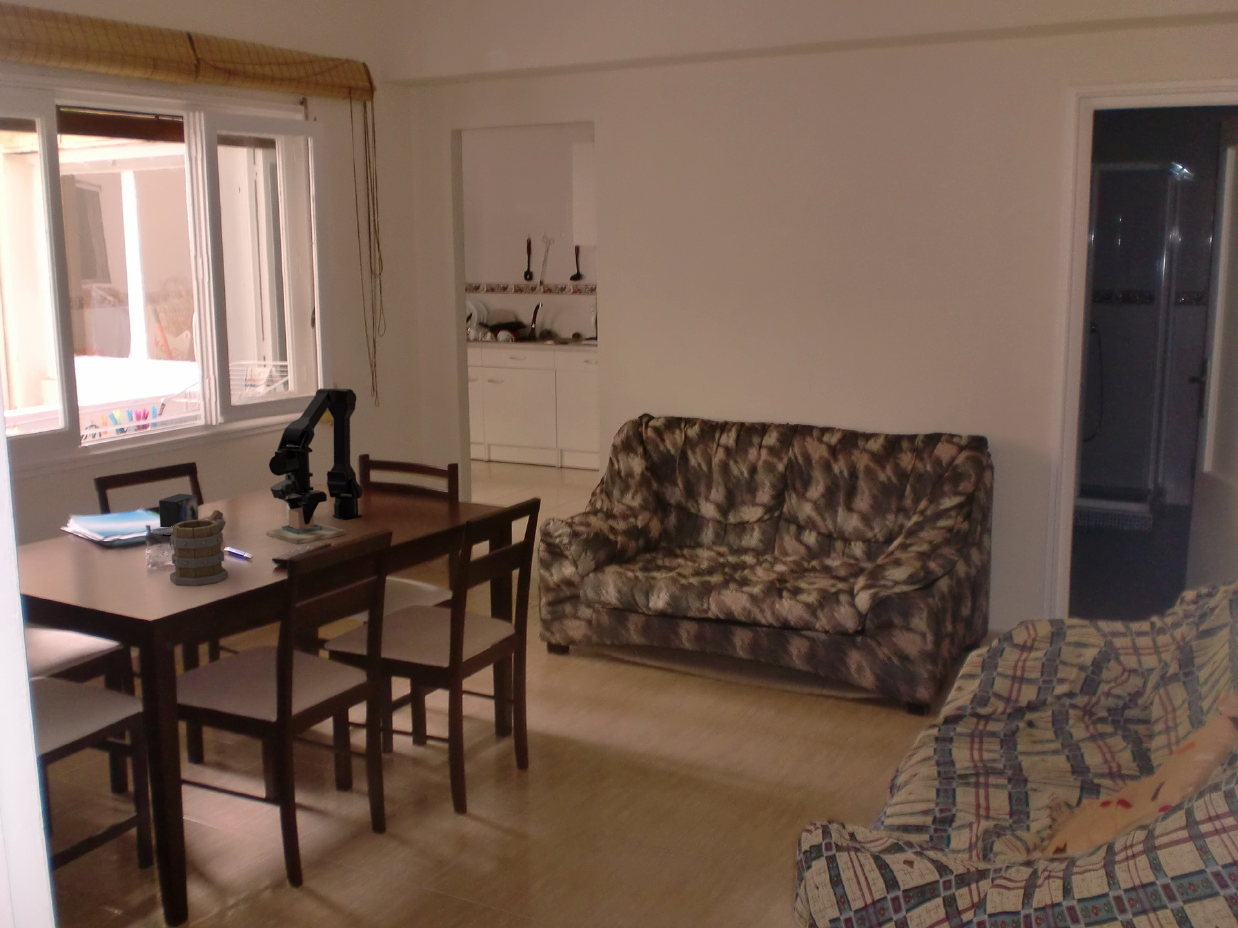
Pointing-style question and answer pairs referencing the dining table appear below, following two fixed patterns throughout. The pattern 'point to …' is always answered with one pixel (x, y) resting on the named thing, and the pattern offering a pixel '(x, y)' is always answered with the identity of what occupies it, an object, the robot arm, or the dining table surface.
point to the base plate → (305, 533)
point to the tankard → (198, 552)
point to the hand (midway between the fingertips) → (301, 522)
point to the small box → (178, 509)
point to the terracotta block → (299, 519)
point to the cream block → (287, 511)
